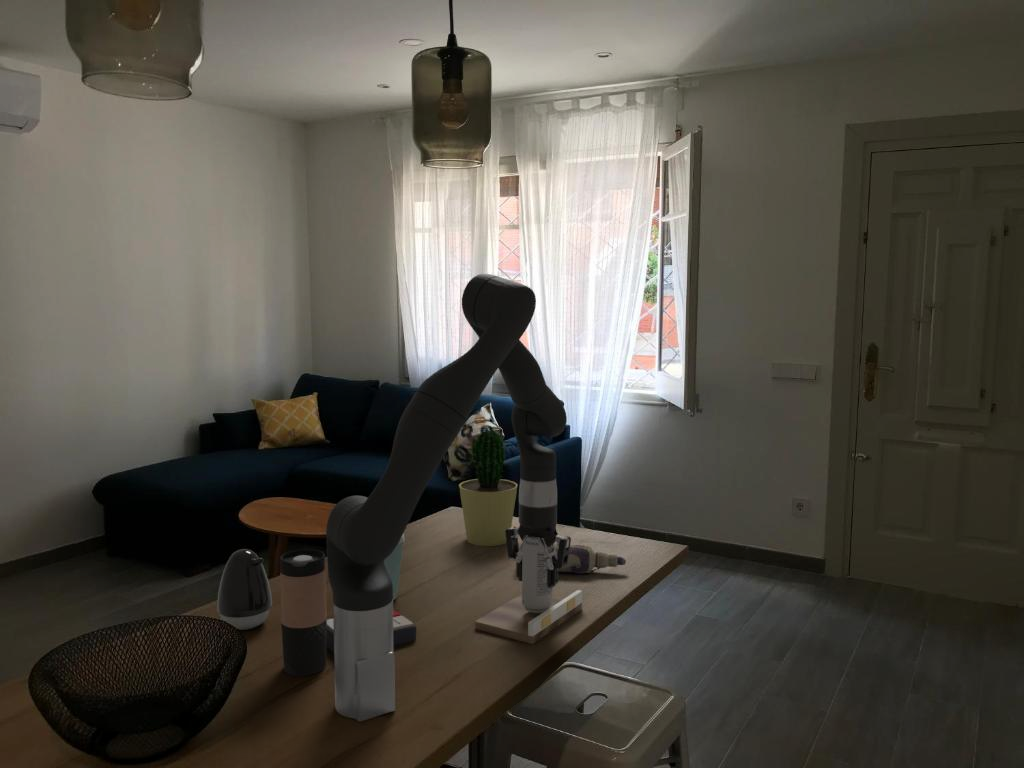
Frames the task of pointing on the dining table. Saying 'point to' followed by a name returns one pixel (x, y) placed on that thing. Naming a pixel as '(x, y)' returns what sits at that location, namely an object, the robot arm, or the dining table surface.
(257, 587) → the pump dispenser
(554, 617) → the price rail
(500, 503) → the potted cactus
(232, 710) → the dining table surface
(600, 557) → the decorative bottle
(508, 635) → the shelf board
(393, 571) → the disposable coffee cup
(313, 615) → the travel mug
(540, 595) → the energy drink can
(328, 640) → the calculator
